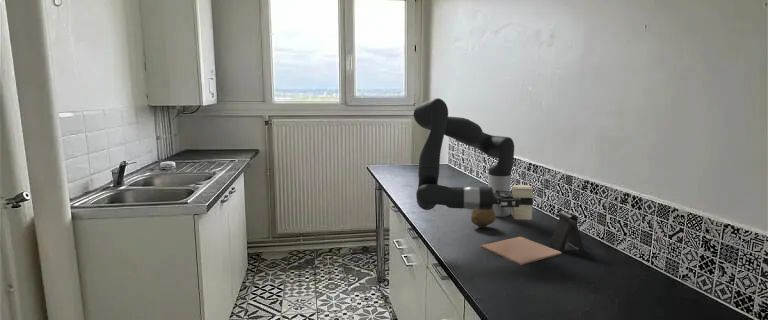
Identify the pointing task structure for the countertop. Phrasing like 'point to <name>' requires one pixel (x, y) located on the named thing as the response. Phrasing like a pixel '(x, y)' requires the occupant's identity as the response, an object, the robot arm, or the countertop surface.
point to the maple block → (522, 210)
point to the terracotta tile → (521, 250)
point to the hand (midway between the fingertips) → (530, 199)
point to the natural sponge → (483, 217)
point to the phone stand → (566, 234)
